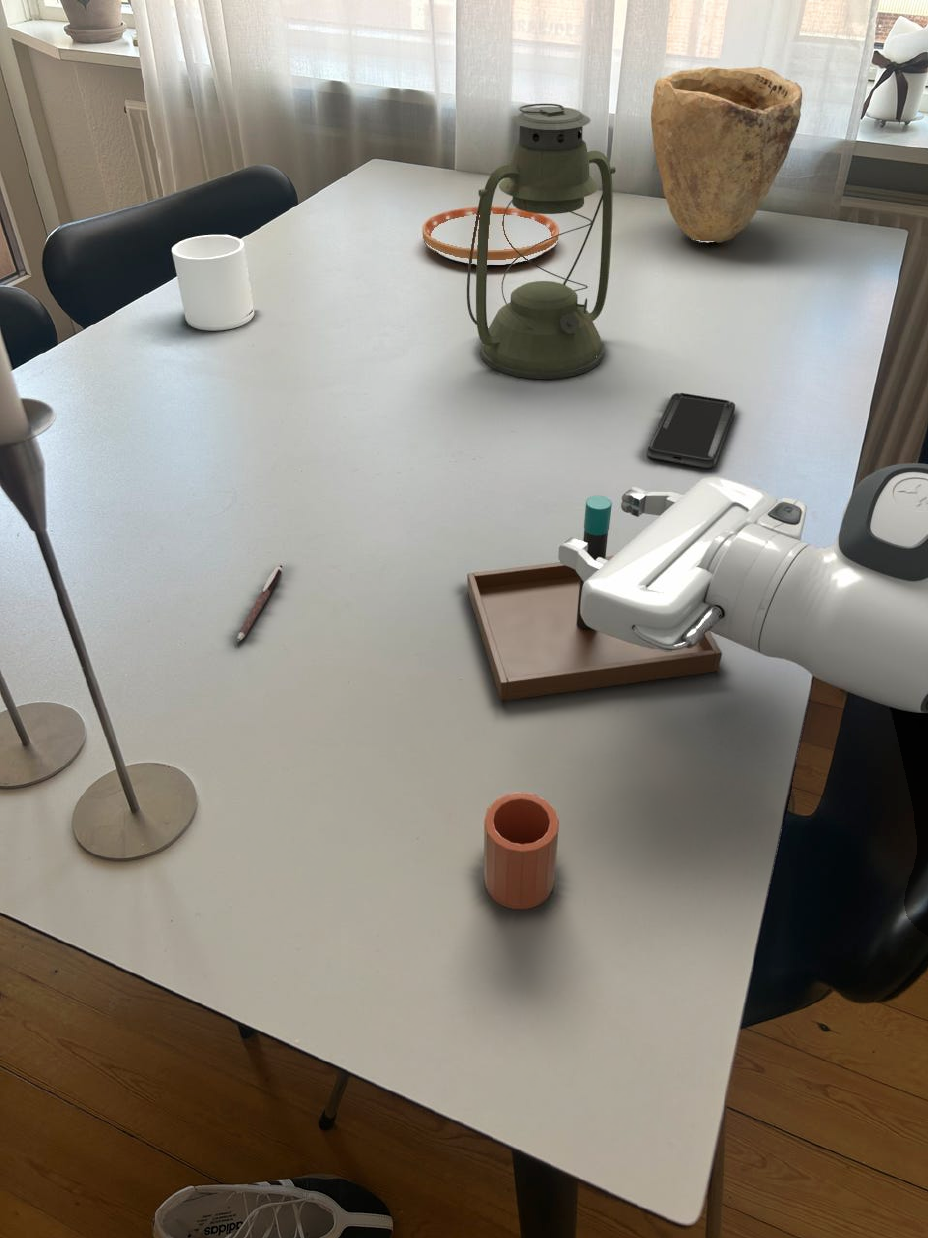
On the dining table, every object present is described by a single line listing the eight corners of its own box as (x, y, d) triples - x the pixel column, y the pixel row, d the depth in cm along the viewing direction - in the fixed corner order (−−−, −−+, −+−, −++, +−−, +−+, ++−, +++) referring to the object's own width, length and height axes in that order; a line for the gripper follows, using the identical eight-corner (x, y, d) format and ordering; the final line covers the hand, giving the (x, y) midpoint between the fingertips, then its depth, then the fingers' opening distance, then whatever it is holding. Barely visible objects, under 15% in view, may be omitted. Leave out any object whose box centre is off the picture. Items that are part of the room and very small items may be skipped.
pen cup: (544, 846, 69) (548, 787, 65) (561, 903, 66) (566, 845, 61) (478, 857, 69) (478, 798, 64) (492, 915, 65) (493, 856, 61)
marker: (601, 618, 88) (614, 497, 79) (596, 632, 86) (608, 511, 78) (578, 614, 88) (589, 493, 80) (573, 628, 87) (583, 506, 78)
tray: (659, 567, 95) (662, 549, 93) (718, 671, 83) (722, 653, 82) (467, 590, 92) (467, 573, 91) (500, 701, 81) (500, 683, 79)
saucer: (511, 218, 176) (512, 197, 173) (584, 256, 160) (586, 233, 158) (399, 240, 167) (398, 218, 165) (465, 283, 152) (465, 259, 149)
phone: (736, 401, 118) (714, 460, 107) (735, 410, 119) (713, 469, 108) (672, 391, 120) (644, 448, 110) (671, 399, 121) (643, 456, 110)
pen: (278, 569, 95) (276, 560, 94) (285, 569, 95) (284, 561, 94) (234, 643, 86) (232, 635, 86) (242, 644, 86) (240, 636, 86)
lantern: (508, 393, 123) (513, 137, 104) (444, 342, 135) (438, 104, 116) (639, 358, 130) (666, 113, 111) (568, 313, 142) (581, 85, 123)
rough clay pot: (716, 276, 153) (744, 101, 137) (612, 240, 166) (626, 77, 150) (800, 243, 164) (835, 77, 148) (697, 212, 177) (718, 57, 161)
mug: (239, 333, 138) (227, 261, 131) (174, 328, 140) (159, 256, 133) (270, 299, 148) (261, 231, 141) (209, 295, 149) (197, 227, 143)
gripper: (677, 690, 69) (520, 614, 75) (797, 557, 81) (652, 501, 88) (689, 623, 65) (522, 549, 71) (813, 493, 77) (661, 440, 84)
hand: (595, 522), depth 80 cm, fingers open, 8 cm apart
